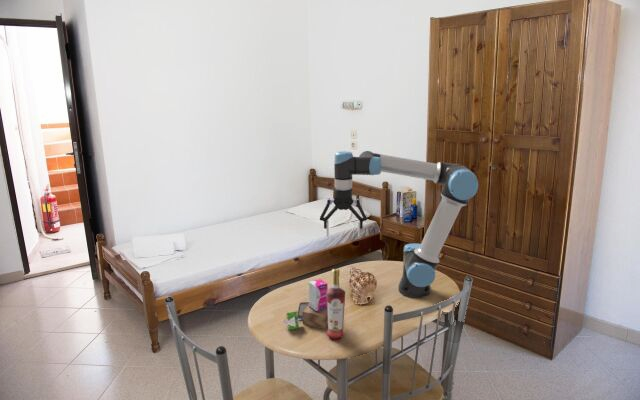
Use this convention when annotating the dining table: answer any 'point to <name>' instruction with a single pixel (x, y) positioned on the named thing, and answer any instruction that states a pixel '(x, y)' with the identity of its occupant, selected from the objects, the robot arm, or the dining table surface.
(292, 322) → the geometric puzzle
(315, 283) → the supplement box
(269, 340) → the dining table surface
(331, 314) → the liquor
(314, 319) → the walnut pedestal block
